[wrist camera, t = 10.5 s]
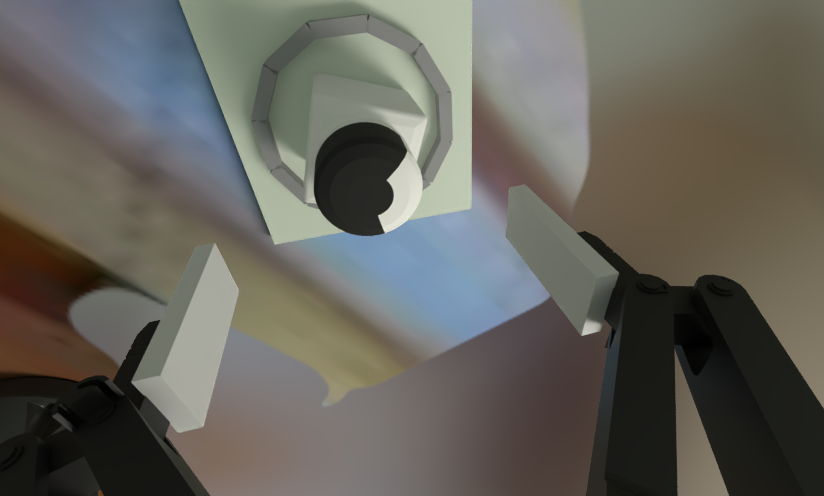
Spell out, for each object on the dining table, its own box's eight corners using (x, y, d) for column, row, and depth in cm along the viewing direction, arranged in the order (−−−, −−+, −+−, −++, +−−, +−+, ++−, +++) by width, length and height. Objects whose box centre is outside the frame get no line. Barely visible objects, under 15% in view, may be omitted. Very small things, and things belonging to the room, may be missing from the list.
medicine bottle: (306, 162, 30) (297, 245, 21) (314, 69, 26) (307, 117, 17) (390, 175, 32) (417, 255, 23) (409, 90, 28) (451, 143, 19)
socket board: (275, 238, 35) (273, 251, 33) (183, -3, 24) (171, -2, 22) (468, 203, 37) (475, 214, 35) (467, -35, 25) (478, -37, 24)
